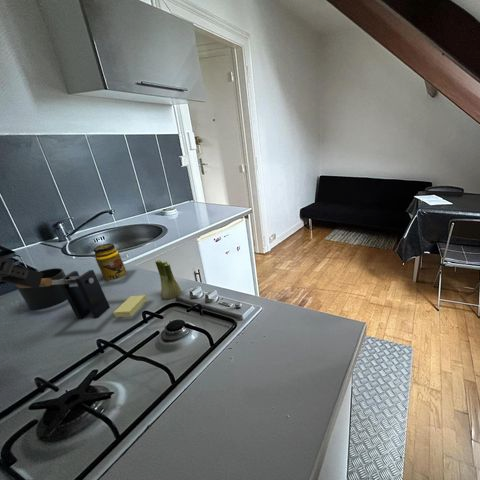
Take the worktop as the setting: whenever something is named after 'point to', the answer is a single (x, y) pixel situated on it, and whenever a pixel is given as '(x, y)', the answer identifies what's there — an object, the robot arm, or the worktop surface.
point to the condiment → (109, 262)
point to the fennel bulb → (167, 281)
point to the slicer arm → (55, 282)
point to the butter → (130, 306)
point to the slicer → (85, 295)
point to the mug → (45, 292)
